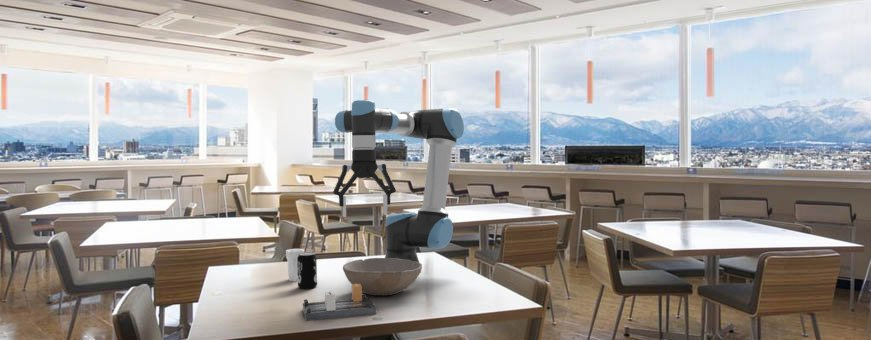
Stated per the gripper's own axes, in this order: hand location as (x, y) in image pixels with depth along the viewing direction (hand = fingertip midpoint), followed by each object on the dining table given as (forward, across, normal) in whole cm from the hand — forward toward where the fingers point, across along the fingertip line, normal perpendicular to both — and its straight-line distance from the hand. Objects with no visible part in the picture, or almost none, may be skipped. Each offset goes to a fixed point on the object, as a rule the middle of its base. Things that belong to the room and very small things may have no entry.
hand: (365, 216), depth 191 cm
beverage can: (+27, +17, -23) cm, 39 cm away
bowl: (+27, -6, -5) cm, 28 cm away
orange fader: (+24, +5, +9) cm, 27 cm away
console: (+27, +11, +13) cm, 32 cm away
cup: (+27, +20, -38) cm, 50 cm away
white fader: (+24, +14, +17) cm, 33 cm away
